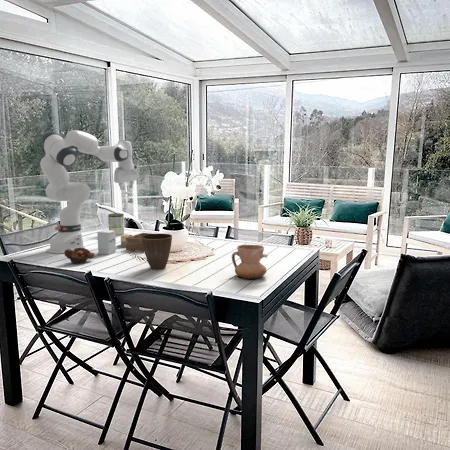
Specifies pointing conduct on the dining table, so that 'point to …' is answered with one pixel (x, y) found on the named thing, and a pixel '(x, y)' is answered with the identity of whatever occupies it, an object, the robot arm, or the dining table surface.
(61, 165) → the robot arm
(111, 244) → the supplement box
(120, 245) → the rubber coaster
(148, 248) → the plant pot
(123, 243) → the oak block
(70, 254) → the decorative turtle
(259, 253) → the ceramic jug
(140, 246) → the walnut caddy
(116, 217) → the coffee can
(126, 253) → the dining table surface
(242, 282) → the dining table surface
